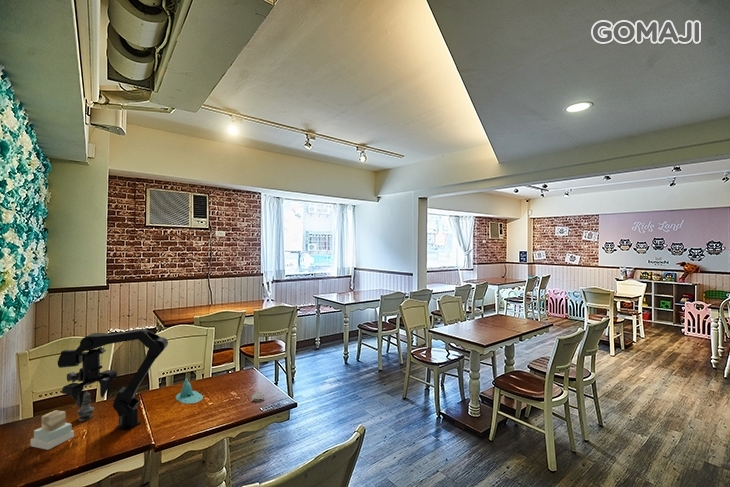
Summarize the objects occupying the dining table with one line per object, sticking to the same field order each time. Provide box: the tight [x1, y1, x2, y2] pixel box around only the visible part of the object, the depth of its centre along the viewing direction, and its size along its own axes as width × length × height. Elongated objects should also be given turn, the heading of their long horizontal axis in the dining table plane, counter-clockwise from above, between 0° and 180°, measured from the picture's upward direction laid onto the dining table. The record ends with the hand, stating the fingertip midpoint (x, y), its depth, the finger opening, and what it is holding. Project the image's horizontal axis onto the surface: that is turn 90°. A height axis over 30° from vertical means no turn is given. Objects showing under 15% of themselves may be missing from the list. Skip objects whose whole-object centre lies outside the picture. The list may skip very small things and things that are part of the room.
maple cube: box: [41, 409, 67, 431], centre depth 133 cm, size 5×5×5 cm
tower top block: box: [33, 421, 73, 442], centre depth 133 cm, size 8×8×3 cm
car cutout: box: [251, 391, 266, 401], centre depth 170 cm, size 15×7×4 cm, turn 106°
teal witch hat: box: [175, 377, 204, 404], centre depth 173 cm, size 12×20×9 cm, turn 47°
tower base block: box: [30, 430, 75, 451], centre depth 133 cm, size 9×9×3 cm
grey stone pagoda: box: [77, 390, 95, 422], centre depth 151 cm, size 6×6×12 cm
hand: (91, 402), depth 141 cm, fingers open, 9 cm apart
